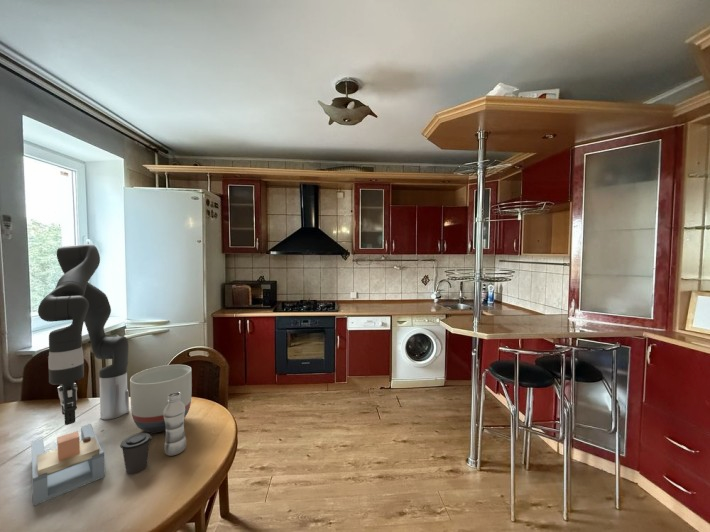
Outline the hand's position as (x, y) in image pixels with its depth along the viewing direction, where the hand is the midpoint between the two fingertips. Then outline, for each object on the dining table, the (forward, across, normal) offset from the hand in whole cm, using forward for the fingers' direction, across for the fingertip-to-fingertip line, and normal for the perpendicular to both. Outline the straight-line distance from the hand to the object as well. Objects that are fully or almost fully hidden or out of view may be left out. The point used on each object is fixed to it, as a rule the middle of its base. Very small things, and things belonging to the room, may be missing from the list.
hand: (68, 418), depth 91 cm
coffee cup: (+20, -8, -15) cm, 26 cm away
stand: (+19, +9, 0) cm, 21 cm away
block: (+11, 0, 0) cm, 11 cm away
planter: (+20, +13, -28) cm, 37 cm away
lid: (+13, +1, 0) cm, 13 cm away
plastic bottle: (+20, -8, -26) cm, 33 cm away
